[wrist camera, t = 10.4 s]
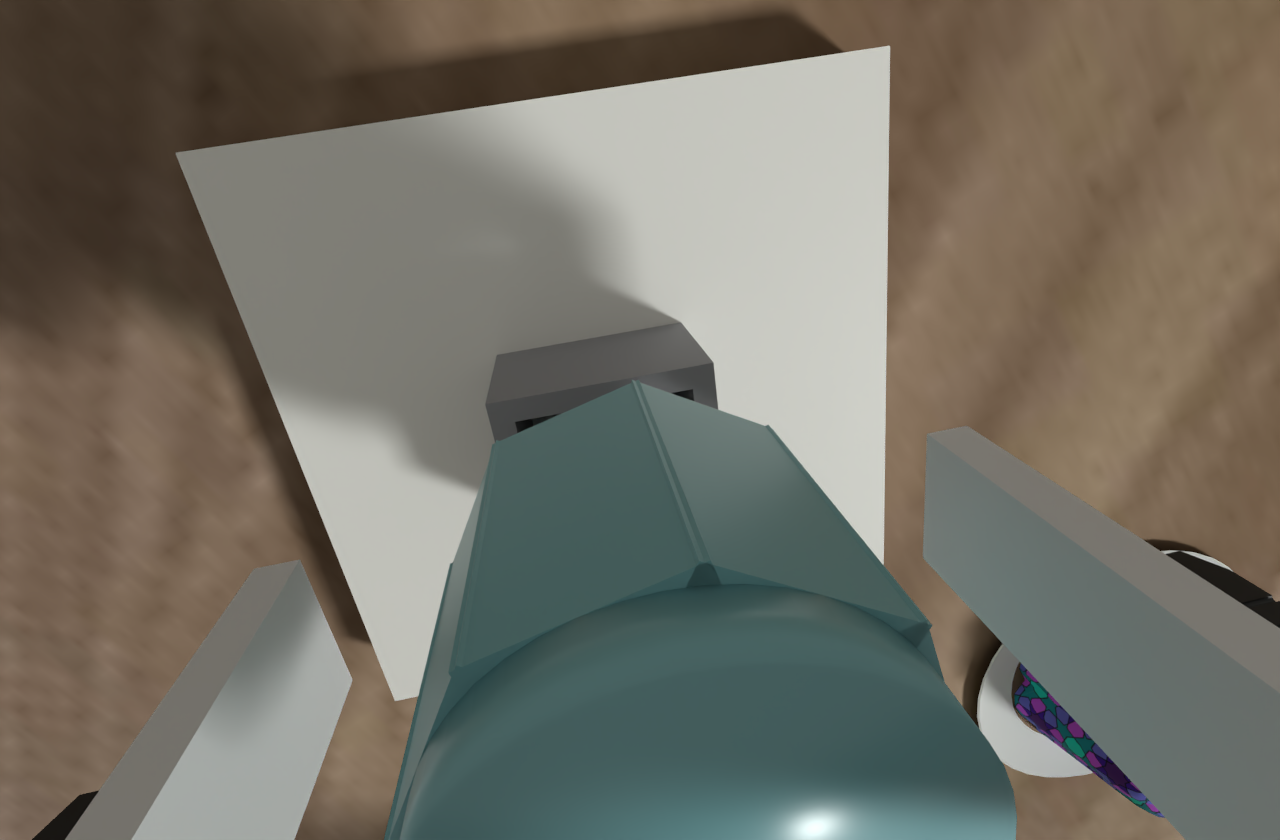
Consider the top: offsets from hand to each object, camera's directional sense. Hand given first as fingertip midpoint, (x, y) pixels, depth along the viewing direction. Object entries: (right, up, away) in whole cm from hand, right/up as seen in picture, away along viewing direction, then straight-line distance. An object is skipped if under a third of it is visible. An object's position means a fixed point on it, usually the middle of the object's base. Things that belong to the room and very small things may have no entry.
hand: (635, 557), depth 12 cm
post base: (-1, +3, +8) cm, 8 cm away
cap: (0, 0, 0) cm, 0 cm away
